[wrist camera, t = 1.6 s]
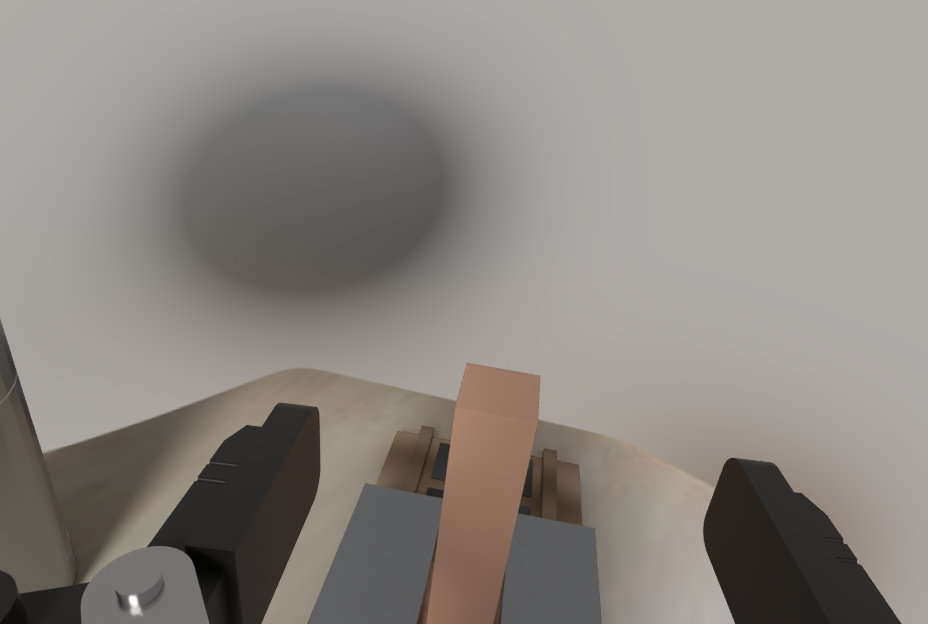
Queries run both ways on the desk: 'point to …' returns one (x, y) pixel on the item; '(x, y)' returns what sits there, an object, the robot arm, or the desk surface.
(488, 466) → the pink post on block
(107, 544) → the desk surface
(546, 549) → the tunnel
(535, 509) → the track board
